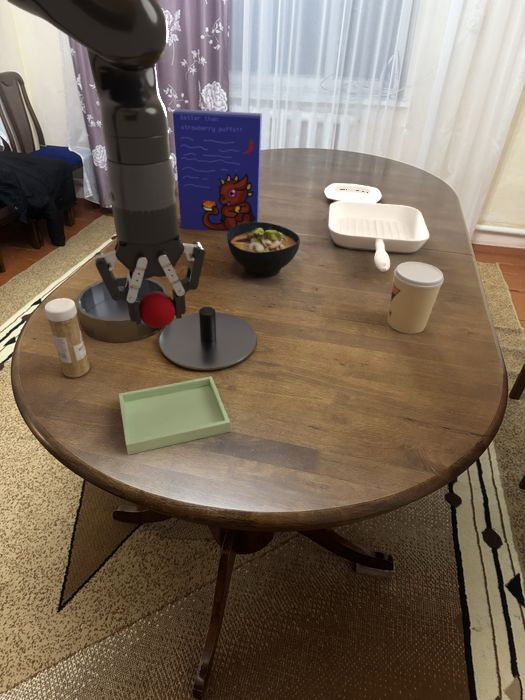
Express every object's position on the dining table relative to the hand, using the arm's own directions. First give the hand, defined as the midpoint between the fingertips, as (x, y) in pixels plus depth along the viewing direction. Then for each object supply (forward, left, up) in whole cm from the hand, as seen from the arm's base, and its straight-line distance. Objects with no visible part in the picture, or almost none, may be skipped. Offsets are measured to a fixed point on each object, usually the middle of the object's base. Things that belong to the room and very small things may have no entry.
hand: (158, 318), depth 65 cm
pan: (+65, +46, -17) cm, 82 cm away
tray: (0, -2, -17) cm, 17 cm away
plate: (+77, +84, -17) cm, 115 cm away
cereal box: (+27, +71, -17) cm, 78 cm away
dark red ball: (0, 0, +1) cm, 1 cm away
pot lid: (+10, +16, -16) cm, 25 cm away
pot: (-4, +29, -17) cm, 33 cm away
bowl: (+30, +42, -17) cm, 54 cm away
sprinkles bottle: (-14, +14, -17) cm, 26 cm away
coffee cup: (+51, +11, -17) cm, 55 cm away
